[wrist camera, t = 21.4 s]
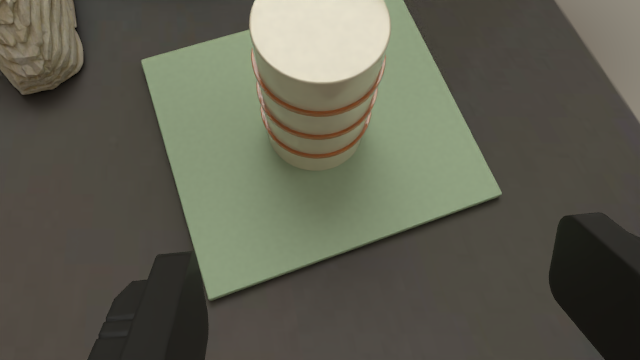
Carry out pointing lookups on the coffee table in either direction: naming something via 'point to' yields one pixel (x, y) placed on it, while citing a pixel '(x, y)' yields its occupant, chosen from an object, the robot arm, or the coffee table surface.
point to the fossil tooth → (39, 43)
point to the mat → (304, 185)
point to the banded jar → (318, 75)
